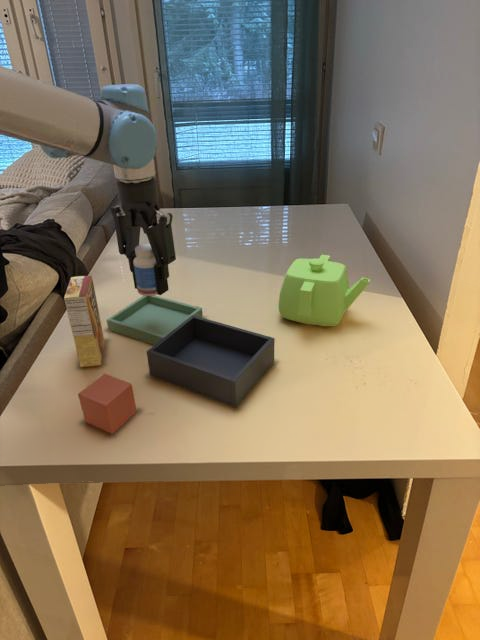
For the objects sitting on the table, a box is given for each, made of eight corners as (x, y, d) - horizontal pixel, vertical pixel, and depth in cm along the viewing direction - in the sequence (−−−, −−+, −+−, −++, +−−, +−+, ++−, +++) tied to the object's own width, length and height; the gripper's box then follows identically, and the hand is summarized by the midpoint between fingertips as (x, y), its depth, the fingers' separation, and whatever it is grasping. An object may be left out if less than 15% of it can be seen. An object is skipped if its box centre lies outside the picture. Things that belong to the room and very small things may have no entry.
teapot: (370, 301, 109) (377, 249, 102) (356, 347, 93) (363, 289, 86) (294, 289, 115) (296, 239, 108) (268, 331, 99) (269, 275, 92)
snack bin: (150, 375, 87) (146, 351, 84) (194, 337, 98) (192, 314, 95) (236, 407, 79) (235, 381, 76) (274, 362, 89) (274, 338, 87)
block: (85, 421, 77) (77, 393, 74) (110, 400, 81) (104, 373, 78) (112, 434, 74) (105, 405, 71) (137, 411, 78) (131, 383, 75)
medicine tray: (108, 329, 101) (106, 319, 100) (148, 302, 111) (147, 293, 110) (165, 348, 94) (164, 338, 93) (202, 318, 104) (202, 308, 103)
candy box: (85, 343, 97) (69, 276, 89) (106, 340, 97) (92, 274, 90) (80, 368, 89) (62, 298, 81) (102, 365, 90) (87, 295, 82)
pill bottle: (163, 295, 96) (158, 251, 91) (137, 298, 95) (130, 253, 90) (163, 283, 101) (158, 241, 96) (138, 286, 100) (131, 243, 95)
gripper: (188, 178, 85) (197, 290, 97) (112, 168, 93) (130, 273, 105) (163, 188, 79) (176, 306, 91) (84, 177, 88) (106, 287, 100)
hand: (151, 288), depth 98 cm, fingers closed on pill bottle, 5 cm apart
